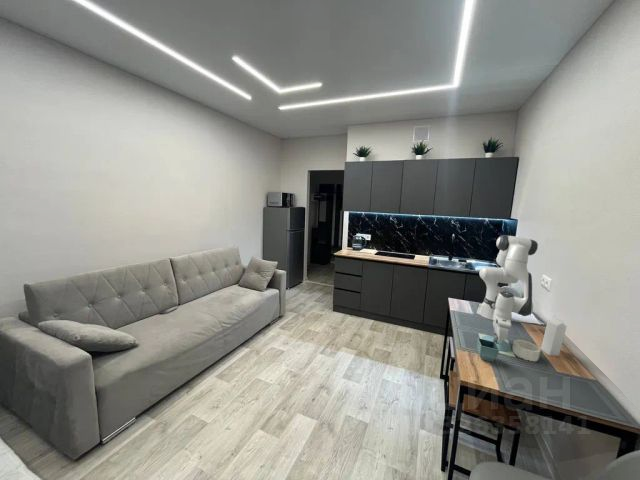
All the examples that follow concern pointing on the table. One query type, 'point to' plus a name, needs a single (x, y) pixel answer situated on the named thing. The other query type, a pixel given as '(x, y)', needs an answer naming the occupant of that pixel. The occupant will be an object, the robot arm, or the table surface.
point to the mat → (507, 353)
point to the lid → (502, 347)
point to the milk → (553, 336)
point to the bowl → (526, 350)
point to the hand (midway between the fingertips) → (497, 339)
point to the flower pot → (487, 349)
